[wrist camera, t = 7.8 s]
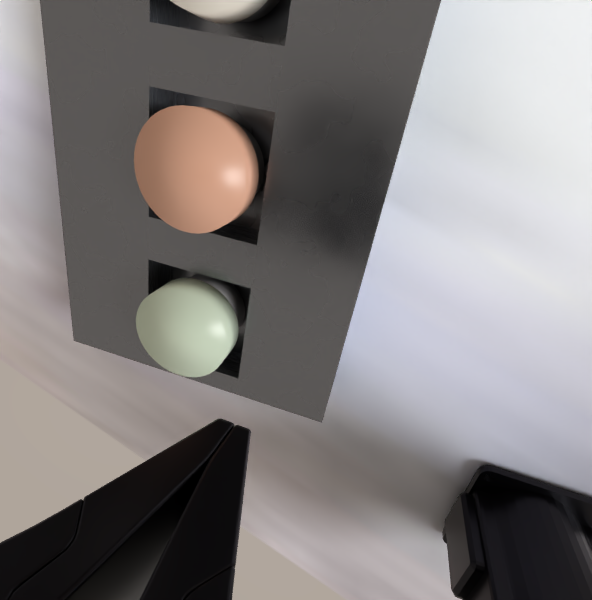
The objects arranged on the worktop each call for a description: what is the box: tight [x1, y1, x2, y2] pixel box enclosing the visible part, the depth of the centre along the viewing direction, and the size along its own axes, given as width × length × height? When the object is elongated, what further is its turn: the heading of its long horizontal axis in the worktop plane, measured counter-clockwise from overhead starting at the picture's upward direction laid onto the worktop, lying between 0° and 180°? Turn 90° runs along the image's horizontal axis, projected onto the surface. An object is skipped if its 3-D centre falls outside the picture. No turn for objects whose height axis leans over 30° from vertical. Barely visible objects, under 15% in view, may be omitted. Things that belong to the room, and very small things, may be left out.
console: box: [40, 0, 441, 422], centre depth 16 cm, size 14×21×3 cm, turn 169°
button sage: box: [136, 274, 245, 377], centre depth 18 cm, size 4×4×3 cm
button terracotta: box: [134, 105, 264, 234], centre depth 15 cm, size 4×4×3 cm
